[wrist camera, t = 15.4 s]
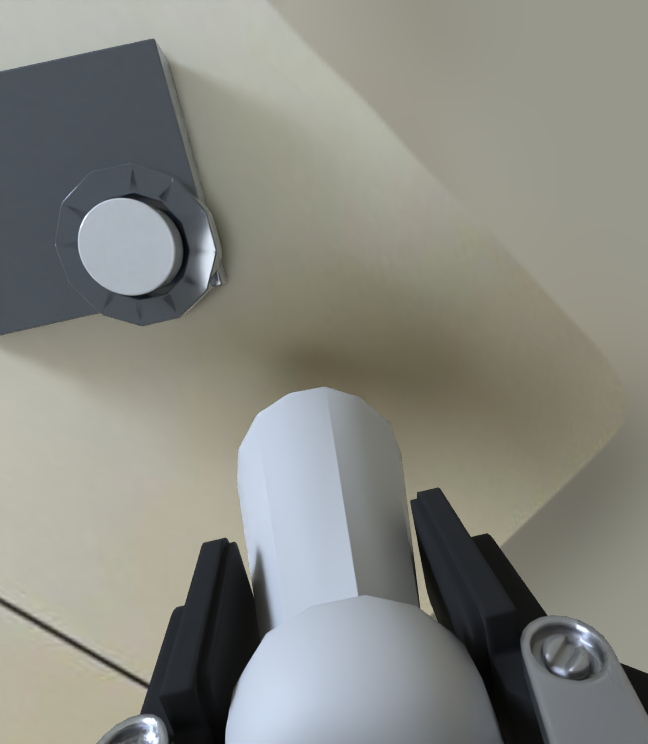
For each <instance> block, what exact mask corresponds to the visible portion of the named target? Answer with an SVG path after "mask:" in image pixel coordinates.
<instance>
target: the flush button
mask: <svg viewBox="0 0 648 744" xmlns="http://www.w3.org/2000/svg"><path fill="white" fill-rule="evenodd" d="M78 249H79V254H80V257H81V260H82V262H83V265H84V266H85V268H86V270H87V271H88V273H89V274H90V275H91V277H92V278H93V279H94V280H95V281H96V282H98V283H99V284H100V285H101V286H103V287H104V288H106V289H108V290H110V291H112V292H115V293H118V294H122V295H129V296H134V295H142V294H146V293H149V292H152V291H155V290H158V289H160V288H163V287H164V286H166V285H167V284H169V283H170V282H171V281H172V280H173V279H174V278H175V276H176V275H177V273H178V272H179V269H180V267H181V264H182V261H183V243H182V238H181V236H180V233H179V231H178V229H177V227H176V225H175V224H174V222H173V221H172V220H171V219H170V218H169V217H168V216H167V215H166V214H165V213H164V212H163V211H161V210H160V209H158V208H156V207H154V206H152V205H150V204H147V203H144V202H141V201H137V200H134V199H129V198H114V199H109V200H106V201H103V202H101V203H99V204H98V205H96V206H95V207H93V208H92V209H91V210H90V211H89V212H88V214H87V215H86V216H85V218H84V219H83V221H82V224H81V226H80V229H79V234H78Z"/></svg>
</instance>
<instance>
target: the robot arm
mask: <svg viewBox="0 0 648 744" xmlns="http://www.w3.org/2000/svg"><path fill="white" fill-rule="evenodd" d="M411 509H412V514H413V519H414V525H415V530H416V535H417V541H418V546H419V552H420V557H421V562H422V568H423V573H424V578H425V584H426V589H427V593H428V597H429V600H430V603H431V605H432V608H433V610H434V613H435V615H436V618H437V620H438V623H440V624H441V625H443V626H444V627H445V628H447V629H448V630H449V631H451V632H452V633H453V634H454V635H455V636H456V637H457V638H458V639H459V640H460V641H461V642H462V643H463V644H464V645H465V647H466V649H467V651H468V653H469V655H470V656H471V658H472V660H473V662H474V664H475V666H476V668H477V670H478V672H479V674H480V676H481V677H482V680H483V682H484V685H485V688H486V690H487V693H488V696H489V698H490V701H491V704H492V707H493V709H494V712H495V715H496V717H497V720H498V723H499V727H500V730H501V734H502V738H503V741H504V744H648V673H645V672H642V671H640V670H637V669H635V668H632V667H629V666H627V665H624V664H622V663H620V662H619V660H618V658H617V656H616V655H615V653H614V651H613V649H612V647H611V646H610V644H609V643H608V642H607V640H606V639H605V637H604V636H603V635H602V634H600V633H599V632H598V631H596V630H595V629H594V628H593V627H592V626H590V625H588V624H586V623H584V622H582V621H580V620H577V619H573V618H570V617H567V616H555V615H551V616H547V614H546V613H545V611H544V610H543V609H542V607H541V606H540V604H539V603H538V602H537V600H536V599H535V597H534V596H533V594H532V593H531V592H530V590H529V589H528V587H527V586H526V584H525V583H524V582H523V580H522V579H521V577H520V576H519V575H518V574H517V572H516V570H515V569H514V568H513V566H512V565H511V563H510V562H509V560H508V559H507V558H506V556H505V555H504V553H503V552H502V551H501V549H500V548H499V546H498V545H497V543H496V542H495V541H494V539H493V538H492V537H491V536H490V535H489V534H487V533H486V534H482V535H478V536H474V537H470V535H469V533H468V532H467V530H466V529H465V527H464V526H463V524H462V522H461V521H460V519H459V518H458V516H457V514H456V513H455V511H454V510H453V508H452V507H451V505H450V503H449V502H448V500H447V499H446V497H445V496H444V494H443V492H442V491H441V489H440V488H434V489H430V490H425V491H421V492H417V499H413V500H411ZM260 643H261V640H260V633H259V627H258V620H257V613H256V607H255V600H254V596H253V593H252V590H251V587H250V584H249V581H248V577H247V574H246V571H245V568H244V565H243V562H242V558H241V555H240V552H239V549H238V546H237V544H236V542H232V543H229V541H228V539H227V538H222V539H218V540H214V541H209V542H205V543H203V544H202V547H201V550H200V554H199V557H198V561H197V564H196V568H195V571H194V575H193V578H192V582H191V585H190V589H189V592H188V596H187V599H186V602H185V605H184V606H180V607H177V608H175V609H174V611H173V613H172V615H171V618H170V621H169V625H168V628H167V631H166V634H165V637H164V640H163V644H162V647H161V650H160V653H159V656H158V659H157V663H156V666H155V669H154V672H153V675H152V678H151V682H150V685H149V688H148V691H147V694H146V697H145V700H144V704H143V707H142V710H141V713H140V715H136V716H133V717H130V718H128V719H126V720H124V721H122V722H121V723H119V724H117V725H116V726H114V727H113V728H112V729H111V730H110V731H108V732H107V733H106V734H105V735H104V736H103V737H102V738H101V739H100V740H99V741H98V743H97V744H225V734H226V725H227V720H228V715H229V709H230V704H231V699H232V694H233V689H234V687H235V686H236V684H237V682H238V680H239V678H240V676H241V674H242V672H243V671H244V669H245V667H246V666H247V664H248V662H249V661H250V659H251V658H252V656H253V654H254V653H255V651H256V650H257V648H258V646H259V645H260Z"/></svg>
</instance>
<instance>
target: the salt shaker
mask: <svg viewBox="0 0 648 744" xmlns="http://www.w3.org/2000/svg"><path fill="white" fill-rule="evenodd" d="M237 485H238V492H239V499H240V506H241V512H242V519H243V526H244V533H245V539H246V546H247V553H248V559H249V566H250V573H251V580H252V586H253V593H254V600H255V607H256V613H257V620H258V627H259V633H260V640H261V643H260V645H259V646H258V648H257V650H256V651H255V653H254V654H253V656H252V658H251V659H250V661H249V662H248V664H247V666H246V667H245V669H244V671H243V672H242V674H241V676H240V678H239V680H238V682H237V684H236V686H235V687H234V689H233V694H232V699H231V704H230V709H229V715H228V720H227V725H226V734H225V744H504V741H503V738H502V734H501V730H500V727H499V723H498V720H497V717H496V715H495V712H494V709H493V707H492V704H491V701H490V698H489V696H488V693H487V690H486V688H485V685H484V682H483V680H482V677H481V676H480V674H479V672H478V670H477V668H476V666H475V664H474V662H473V660H472V658H471V656H470V655H469V653H468V651H467V649H466V647H465V645H464V644H463V643H462V642H461V641H460V640H459V639H458V638H457V637H456V636H455V635H454V634H453V633H452V632H451V631H449V630H448V629H447V628H445V627H444V626H443V625H441V624H440V623H438V622H437V621H436V620H434V619H433V618H432V617H430V616H429V615H428V614H426V613H425V612H423V611H422V610H421V609H420V603H419V595H418V587H417V579H416V570H415V562H414V554H413V546H412V538H411V530H410V522H409V514H408V505H407V497H406V489H405V481H404V473H403V465H402V457H401V452H400V449H399V447H398V444H397V441H396V439H395V436H394V433H393V430H392V428H391V425H390V422H389V421H388V420H387V419H385V418H384V417H383V416H382V415H381V414H379V413H378V412H377V411H376V410H375V409H373V408H372V407H371V406H370V405H369V404H368V403H366V402H365V401H364V400H363V399H362V398H360V397H359V396H356V395H352V394H349V393H345V392H342V391H338V390H335V389H331V388H328V387H325V386H324V387H319V388H314V389H309V390H304V391H299V392H294V393H289V394H287V395H286V396H284V397H283V398H281V399H279V400H278V401H276V402H275V403H273V404H272V405H270V406H269V407H267V408H266V409H264V410H263V411H261V412H260V413H258V415H257V416H256V417H255V419H254V421H253V423H252V425H251V427H250V429H249V430H248V432H247V434H246V436H245V438H244V440H243V442H242V444H241V445H240V447H239V451H238V475H237Z"/></svg>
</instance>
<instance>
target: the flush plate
mask: <svg viewBox="0 0 648 744" xmlns="http://www.w3.org/2000/svg"><path fill="white" fill-rule="evenodd" d="M114 198H129V199H134V200H137V201H141V202H144V203H147V204H150V205H152V206H154V207H156V208H158V209H160V210H161V211H163V212H164V213H165V214H166V215H167V216H168V217H169V218H170V219H171V220H172V221H173V222H174V224H175V225H176V227H177V229H178V231H179V233H180V236H181V238H182V243H183V261H182V264H181V267H180V269H179V272H178V273H177V275H176V276H175V278H174V279H173V280H172V281H171V282H170V283H169V284H167V285H166V286H164V287H163V288H160V289H158V290H155V291H152V292H149V293H146V294H142V295H134V296H129V295H122V294H118V293H115V292H112V291H110V290H108V289H106V288H104V287H103V286H101V285H100V284H99V283H98V282H96V281H95V280H94V279H93V278H92V277H91V275H90V274H89V273H88V271H87V270H86V268H85V266H84V265H83V262H82V260H81V257H80V254H79V249H78V234H79V229H80V226H81V224H82V221H83V219H84V218H85V216H86V215H87V214H88V212H89V211H90V210H91V209H92V208H93V207H95V206H96V205H98V204H99V203H101V202H103V201H106V200H109V199H114ZM221 255H222V248H221V245H220V241H219V237H218V233H217V230H216V226H215V222H214V219H213V215H212V213H211V212H210V210H209V209H208V208H207V204H206V200H205V197H204V193H203V189H202V186H201V182H200V178H199V175H198V171H197V167H196V164H195V160H194V156H193V152H192V149H191V145H190V141H189V138H188V134H187V130H186V127H185V123H184V119H183V116H182V112H181V108H180V105H179V101H178V97H177V93H176V90H175V86H174V82H173V79H172V75H171V71H170V68H169V64H168V60H167V58H166V56H165V55H164V53H163V52H162V50H161V48H160V47H159V45H158V44H157V42H156V41H155V39H148V40H144V41H139V42H134V43H130V44H125V45H121V46H116V47H111V48H107V49H102V50H98V51H93V52H88V53H84V54H79V55H74V56H70V57H65V58H61V59H56V60H51V61H47V62H42V63H37V64H33V65H28V66H24V67H19V68H14V69H10V70H5V71H1V72H0V335H4V334H9V333H13V332H17V331H22V330H26V329H31V328H35V327H40V326H44V325H48V324H53V323H57V322H62V321H66V320H71V319H75V318H79V317H84V316H88V315H93V314H97V313H101V314H102V315H104V316H108V317H111V318H115V319H118V320H121V321H125V322H128V323H132V324H135V325H139V326H145V325H150V324H154V323H159V322H163V321H167V320H172V319H176V318H179V317H181V316H183V315H184V314H186V313H187V312H189V311H190V310H191V309H192V308H193V307H194V306H195V305H196V304H197V303H198V302H199V301H200V300H201V299H202V298H203V297H204V296H205V295H206V294H207V293H208V292H209V291H210V290H211V289H212V288H213V287H216V286H221V285H223V284H224V283H226V282H227V278H226V274H225V271H224V267H223V263H222V259H221Z"/></svg>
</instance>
